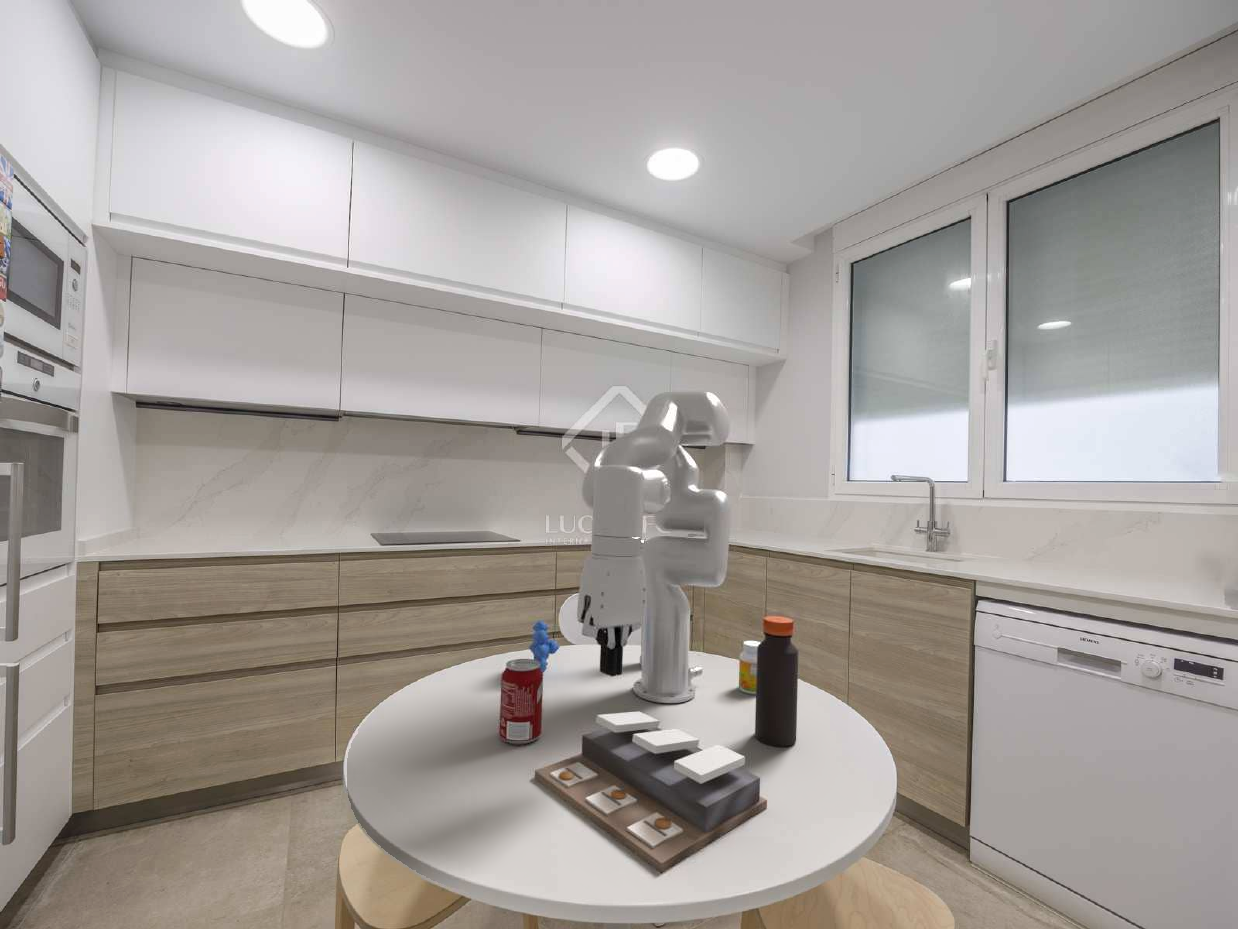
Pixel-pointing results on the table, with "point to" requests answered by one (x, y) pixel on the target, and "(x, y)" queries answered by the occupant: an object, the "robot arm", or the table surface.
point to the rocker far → (627, 721)
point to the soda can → (521, 701)
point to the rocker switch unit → (651, 796)
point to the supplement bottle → (748, 667)
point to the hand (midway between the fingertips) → (610, 673)
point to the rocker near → (709, 763)
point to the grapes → (542, 645)
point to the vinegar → (776, 684)
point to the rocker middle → (665, 740)
